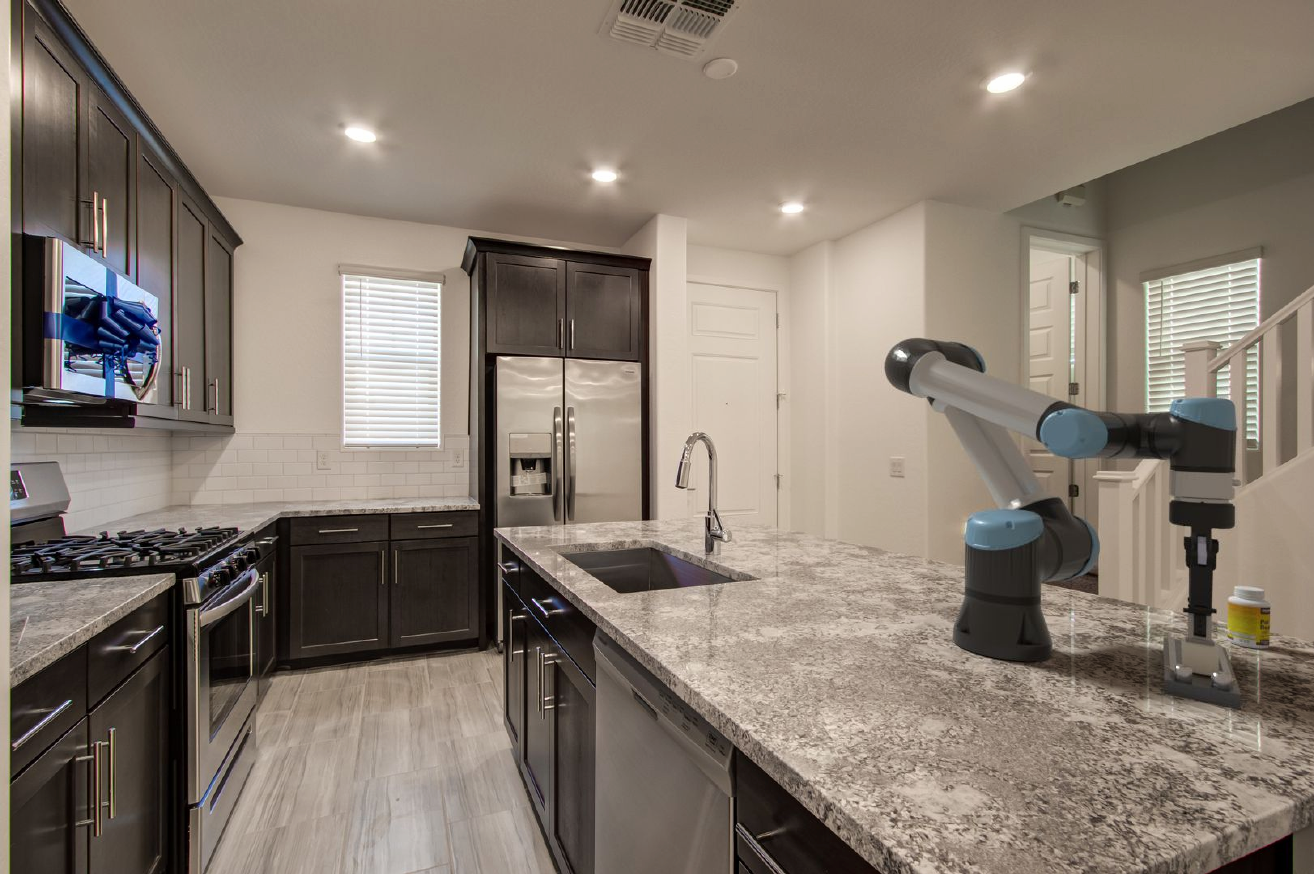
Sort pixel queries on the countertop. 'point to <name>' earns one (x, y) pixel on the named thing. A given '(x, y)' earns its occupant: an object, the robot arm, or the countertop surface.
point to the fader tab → (1200, 655)
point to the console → (1199, 678)
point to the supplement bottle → (1249, 618)
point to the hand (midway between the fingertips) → (1199, 656)
